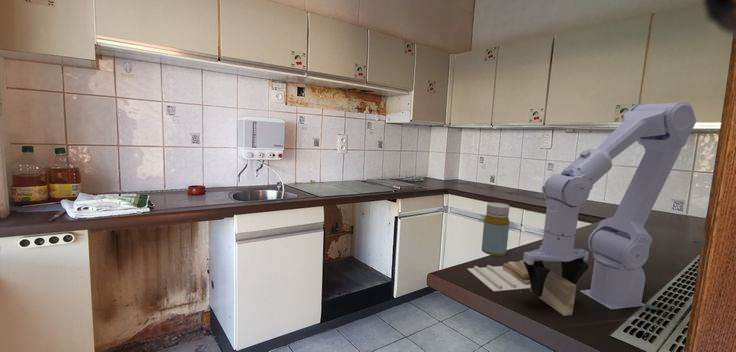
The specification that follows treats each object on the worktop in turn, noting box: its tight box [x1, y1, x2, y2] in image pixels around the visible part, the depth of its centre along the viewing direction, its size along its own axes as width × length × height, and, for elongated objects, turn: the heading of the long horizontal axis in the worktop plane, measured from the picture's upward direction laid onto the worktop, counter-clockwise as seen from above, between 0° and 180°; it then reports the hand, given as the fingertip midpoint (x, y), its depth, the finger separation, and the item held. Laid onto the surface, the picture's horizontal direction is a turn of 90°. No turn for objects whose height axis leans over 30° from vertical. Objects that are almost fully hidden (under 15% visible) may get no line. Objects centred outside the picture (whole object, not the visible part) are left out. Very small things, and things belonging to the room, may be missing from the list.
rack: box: [467, 260, 531, 292], centre depth 84 cm, size 17×12×2 cm
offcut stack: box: [502, 261, 531, 285], centre depth 84 cm, size 6×9×2 cm, turn 13°
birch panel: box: [529, 269, 577, 316], centre depth 72 cm, size 2×10×6 cm, turn 13°
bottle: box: [481, 202, 510, 257], centre depth 99 cm, size 7×7×15 cm
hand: (551, 292), depth 71 cm, fingers open, 7 cm apart
